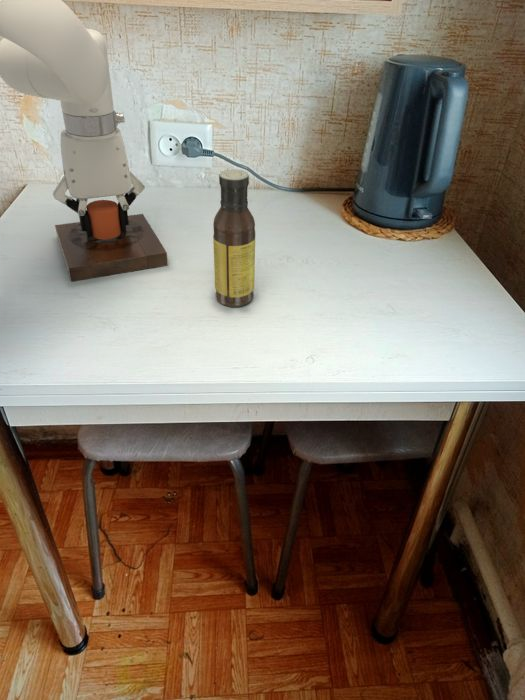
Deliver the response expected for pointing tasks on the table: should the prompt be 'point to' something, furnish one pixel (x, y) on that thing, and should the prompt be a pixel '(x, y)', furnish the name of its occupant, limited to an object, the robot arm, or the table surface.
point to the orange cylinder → (104, 219)
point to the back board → (110, 250)
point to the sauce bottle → (234, 241)
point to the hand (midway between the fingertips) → (105, 230)
